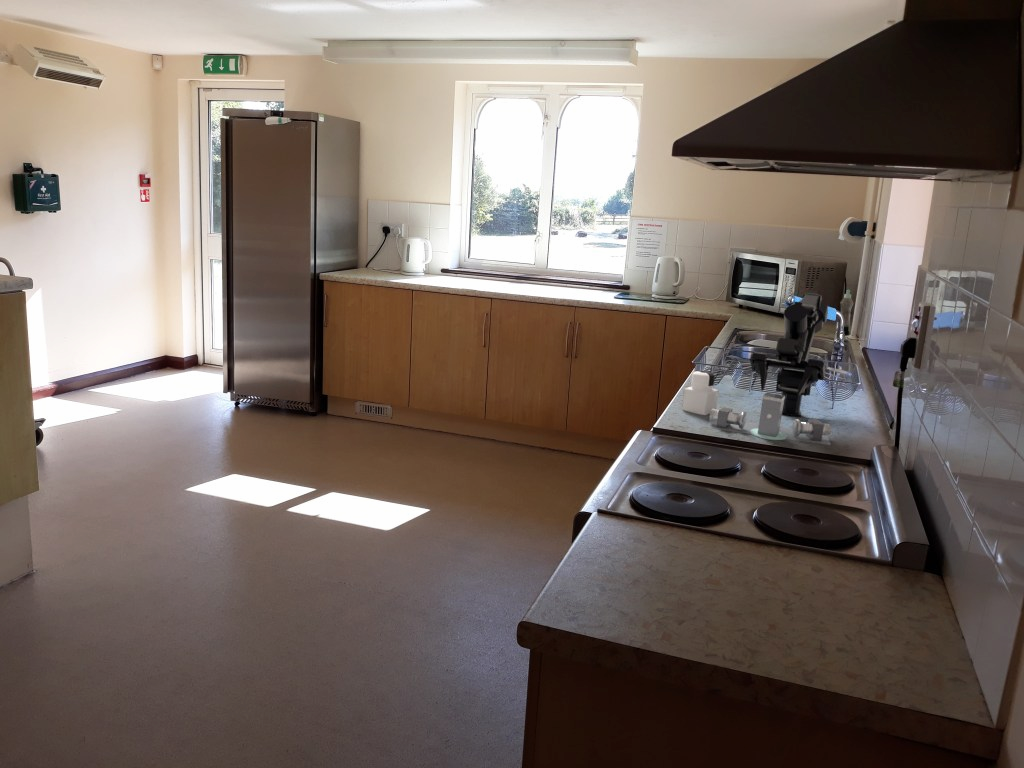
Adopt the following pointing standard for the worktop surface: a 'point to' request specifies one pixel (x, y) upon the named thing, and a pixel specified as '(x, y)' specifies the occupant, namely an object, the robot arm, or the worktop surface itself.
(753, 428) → the coupling board
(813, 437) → the shaft
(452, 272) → the worktop surface
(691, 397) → the medicine bottle
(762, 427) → the block
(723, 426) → the shaft
